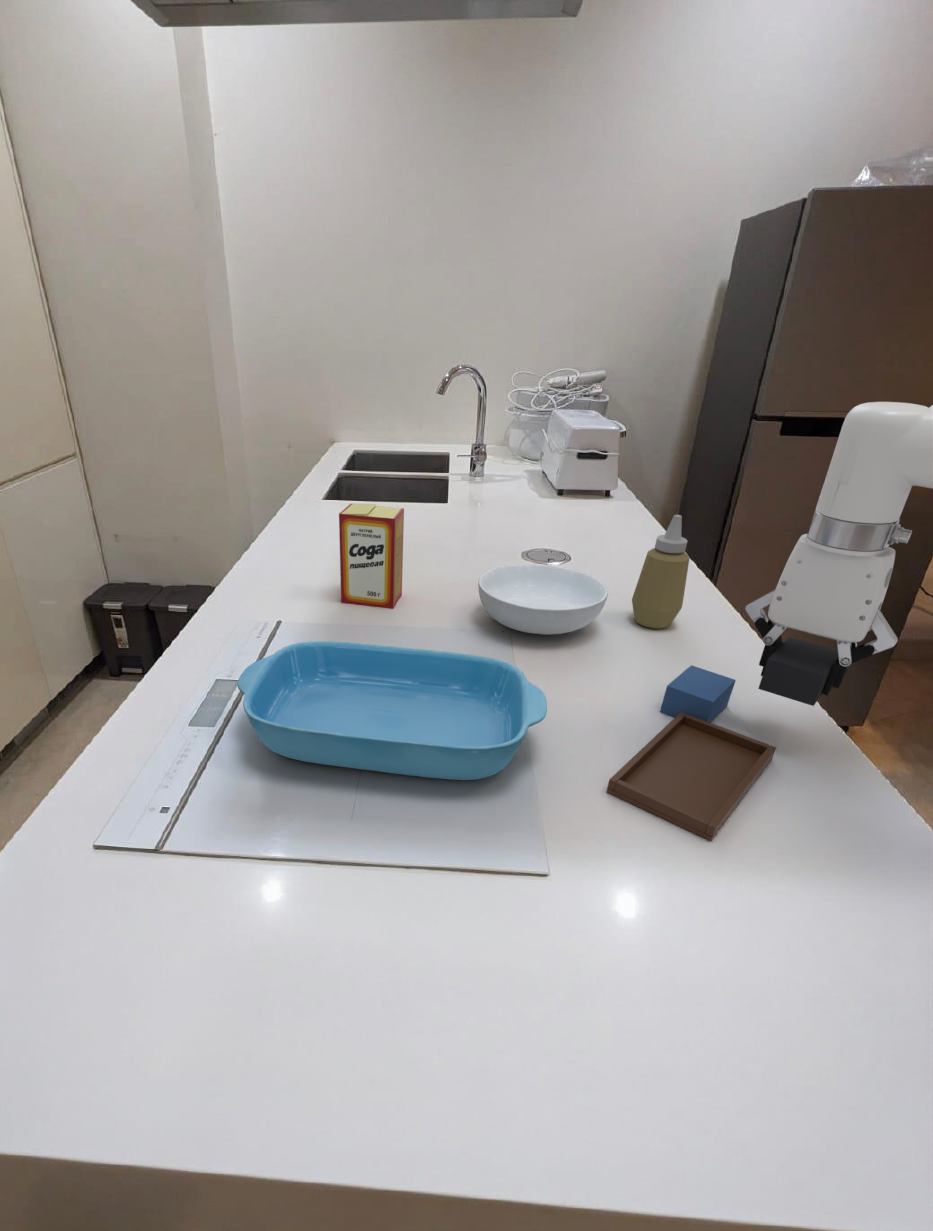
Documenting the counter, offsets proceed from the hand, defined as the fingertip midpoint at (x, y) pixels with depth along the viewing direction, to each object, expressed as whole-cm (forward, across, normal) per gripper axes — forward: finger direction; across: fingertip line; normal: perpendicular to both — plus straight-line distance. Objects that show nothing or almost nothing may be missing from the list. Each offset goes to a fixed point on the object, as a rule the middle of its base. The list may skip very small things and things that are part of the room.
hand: (797, 680), depth 80 cm
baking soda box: (+7, +68, +3) cm, 68 cm away
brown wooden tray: (+8, +5, +15) cm, 18 cm away
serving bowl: (+8, +41, -9) cm, 42 cm away
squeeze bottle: (+8, +27, -23) cm, 36 cm away
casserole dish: (+7, +36, +33) cm, 49 cm away
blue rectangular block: (+8, +10, 0) cm, 13 cm away
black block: (+1, 0, 0) cm, 1 cm away
